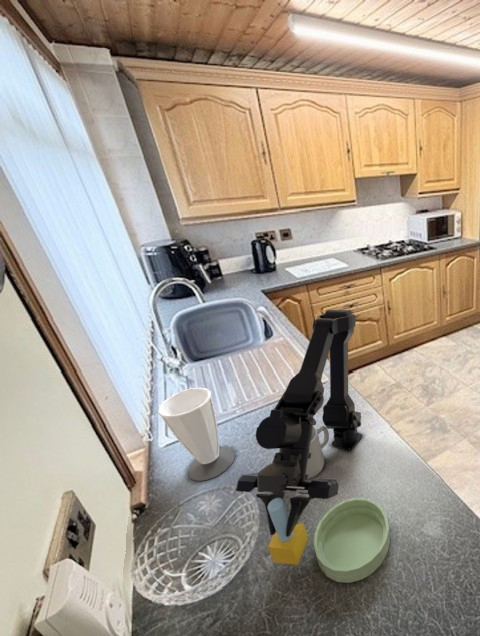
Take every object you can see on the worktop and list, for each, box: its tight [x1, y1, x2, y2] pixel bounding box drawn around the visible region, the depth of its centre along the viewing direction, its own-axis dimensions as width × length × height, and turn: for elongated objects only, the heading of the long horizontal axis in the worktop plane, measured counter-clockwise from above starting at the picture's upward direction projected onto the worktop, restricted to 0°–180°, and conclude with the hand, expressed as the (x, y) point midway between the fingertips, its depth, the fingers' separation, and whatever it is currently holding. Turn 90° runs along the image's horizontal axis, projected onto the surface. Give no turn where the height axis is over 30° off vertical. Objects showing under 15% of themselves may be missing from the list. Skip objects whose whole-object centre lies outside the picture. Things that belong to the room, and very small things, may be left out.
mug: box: [306, 424, 330, 480], centre depth 92 cm, size 12×8×11 cm
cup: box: [157, 386, 236, 482], centre depth 90 cm, size 12×12×22 cm
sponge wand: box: [267, 498, 309, 566], centre depth 67 cm, size 5×5×14 cm
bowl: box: [313, 497, 391, 584], centre depth 73 cm, size 15×15×4 cm
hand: (280, 535), depth 66 cm, fingers closed on sponge wand, 3 cm apart
